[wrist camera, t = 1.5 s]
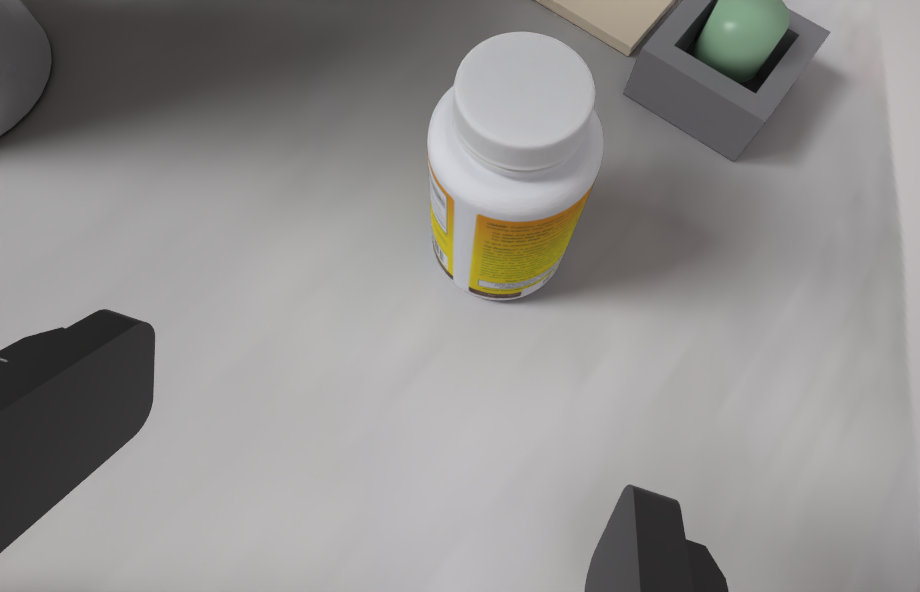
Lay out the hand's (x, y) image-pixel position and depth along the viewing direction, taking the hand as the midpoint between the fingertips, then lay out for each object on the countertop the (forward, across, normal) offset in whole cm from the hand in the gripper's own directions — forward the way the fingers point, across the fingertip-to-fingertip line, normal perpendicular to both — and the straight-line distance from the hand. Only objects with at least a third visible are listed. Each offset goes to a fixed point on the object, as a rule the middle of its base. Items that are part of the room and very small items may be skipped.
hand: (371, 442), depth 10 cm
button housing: (+25, -7, -6) cm, 27 cm away
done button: (+24, -7, -7) cm, 26 cm away
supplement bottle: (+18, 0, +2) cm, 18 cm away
